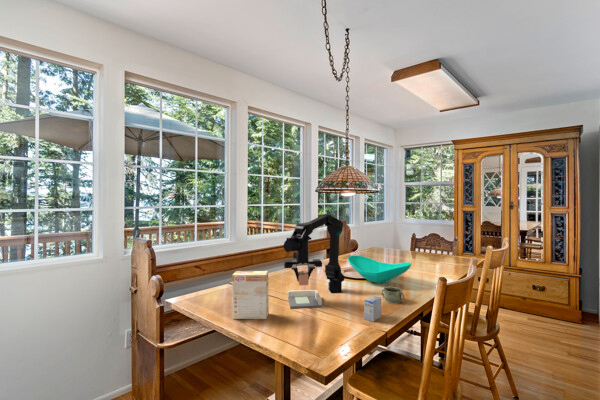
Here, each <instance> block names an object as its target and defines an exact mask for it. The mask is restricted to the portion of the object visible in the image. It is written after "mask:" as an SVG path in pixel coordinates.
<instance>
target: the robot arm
mask: <svg viewBox="0 0 600 400" xmlns="http://www.w3.org/2000/svg"><path fill="white" fill-rule="evenodd" d="M343 224H344V223H343V221H342V220H341V219H338V218H336V217H334V216H333V215H331V214H328V213H327V214H325V213H324V214H322V215H320V216H318V217H316V218H314V219H312V220H310V221H308V222H302V223H301V222H300V223H297V224H296V225H295V227H294V230H293V232H292V233H291V235H290V237H286V240H285V241H284V242H283V249H284V251H285V252H286V253H292V259H285V260H284V261H283V268H284V269H291V270H293V271H294V274H295V278H296V281H297V282H298V280H299V278H298V271H299V269H298V267H297V266H300V267H301V266H307V273H308V281H309V280H310V277H311V275H312V273H313V271H314V270H315V269H316V268H322V267H323V262H322V260H321V259H319V258H315V259H312V260H309V259H310V257H309V253H310V252H309V251H310V250H309V241H312V236H311V237H310V235H311V234H312V233H313V231H314V230H316V229H318V228H319V227H321V226H324V225H325V226H326V227H327V232H328V235H329V251H328V252H329V257H328V263H327V264H325V266H324V274H325V277H326V280H328V286H327V287H328V291H329V292H330V293H331V294H335V293H338V294H339V293H343V290H342V285H343V282H344V281H345V278H346V277H345V276H344V274H343V273H342V268H341V265H340V263H339V254H340V253H339V250H340V249H339V248H340V236H341V234H342V232H343V228H344V227H343V226H344V225H343ZM293 260H296V261H293Z"/></svg>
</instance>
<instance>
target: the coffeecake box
mask: <svg viewBox="0 0 600 400" xmlns="http://www.w3.org/2000/svg"><path fill="white" fill-rule="evenodd" d="M231 279H232V281H231V283H232V285H231V286H232V287H231V289H232V290H231V291H232V294H231V297H232V320H267V319H268V316H269V311H270V310H269V309H270V308H269V307H270V306H269V271H268V270H236V271H234V273H232V275H231Z"/></svg>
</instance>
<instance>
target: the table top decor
mask: <svg viewBox="0 0 600 400" xmlns="http://www.w3.org/2000/svg"><path fill="white" fill-rule="evenodd" d="M347 262H348V263H349V265H350V266H351V267H352V268H353V269H354V270H355V271H356V272H357V273H358V274H359V275H360V276H361V277H363V279H365V280H367V281H369V282H371V283H377V284H384V283H387V282H389V281H391V280H394V279H395V278H397V277H400V276H402V275H403V274H405V273H406V272H408V270H409V269H410V268H411V266H412V263H411V262H407V261H405V262H399V263H388V262H382V261H378V260H375V259H373V258H370V257H367V256H364V255H350V256H348V257H347Z"/></svg>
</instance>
